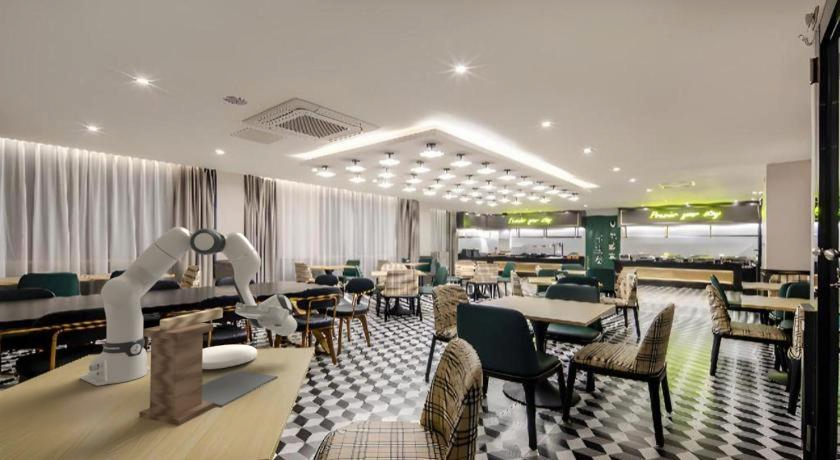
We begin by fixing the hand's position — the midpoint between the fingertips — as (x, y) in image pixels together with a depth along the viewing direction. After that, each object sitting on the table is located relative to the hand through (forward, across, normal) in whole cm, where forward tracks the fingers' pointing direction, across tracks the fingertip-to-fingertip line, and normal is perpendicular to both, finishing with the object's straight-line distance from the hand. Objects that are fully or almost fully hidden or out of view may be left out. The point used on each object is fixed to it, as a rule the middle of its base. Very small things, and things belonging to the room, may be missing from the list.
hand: (247, 305), depth 142 cm
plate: (-24, -24, +18) cm, 39 cm away
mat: (-7, 0, +28) cm, 29 cm away
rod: (+19, 0, +13) cm, 23 cm away
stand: (+10, 0, +38) cm, 40 cm away
